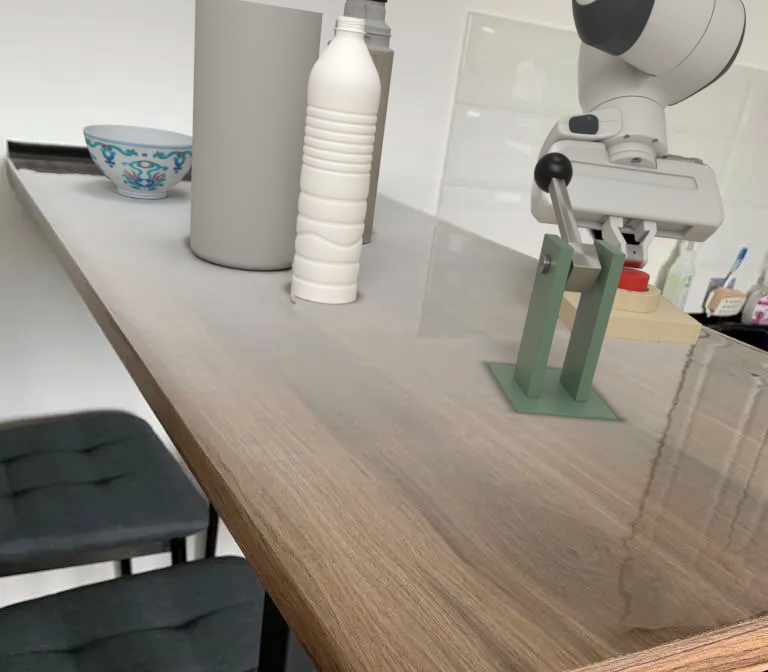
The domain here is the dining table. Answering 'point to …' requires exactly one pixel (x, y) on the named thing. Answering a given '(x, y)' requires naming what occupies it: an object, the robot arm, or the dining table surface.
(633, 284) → the stop button
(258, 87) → the cylinder vase
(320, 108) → the water bottle
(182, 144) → the chinaware
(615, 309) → the tan square base plate
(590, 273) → the lever
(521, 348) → the switch bracket
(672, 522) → the dining table surface
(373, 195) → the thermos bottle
